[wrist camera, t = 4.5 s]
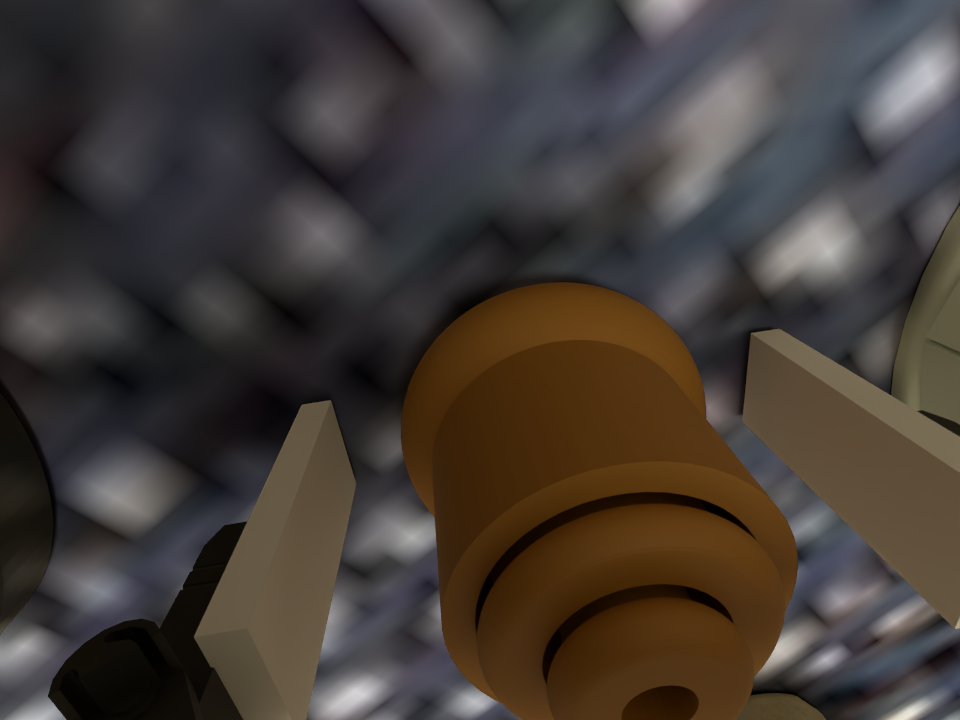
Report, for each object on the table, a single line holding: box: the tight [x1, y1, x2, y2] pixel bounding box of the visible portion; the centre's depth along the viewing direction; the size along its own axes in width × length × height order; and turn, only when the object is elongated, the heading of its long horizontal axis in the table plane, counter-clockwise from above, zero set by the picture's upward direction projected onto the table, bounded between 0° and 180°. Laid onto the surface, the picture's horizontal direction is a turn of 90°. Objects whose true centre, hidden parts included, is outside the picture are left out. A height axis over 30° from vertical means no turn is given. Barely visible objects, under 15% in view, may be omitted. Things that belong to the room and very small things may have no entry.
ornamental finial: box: [401, 282, 798, 720], centre depth 10 cm, size 8×8×8 cm
